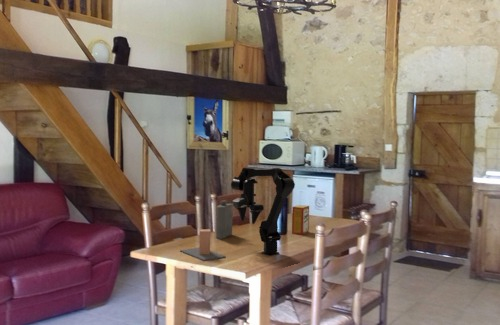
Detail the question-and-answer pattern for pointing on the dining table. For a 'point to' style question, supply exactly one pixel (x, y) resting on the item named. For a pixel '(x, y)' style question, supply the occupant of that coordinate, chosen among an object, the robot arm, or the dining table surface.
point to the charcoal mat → (204, 257)
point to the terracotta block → (204, 241)
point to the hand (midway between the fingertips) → (247, 222)
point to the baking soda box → (300, 219)
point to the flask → (224, 220)
